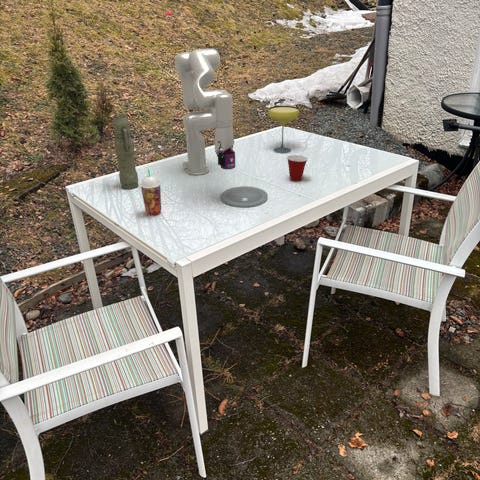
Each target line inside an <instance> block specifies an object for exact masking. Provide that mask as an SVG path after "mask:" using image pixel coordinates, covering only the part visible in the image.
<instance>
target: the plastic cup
mask: <svg viewBox="0 0 480 480" xmlns="http://www.w3.org/2000/svg"><path fill="white" fill-rule="evenodd" d="M286 159H287V164H288V172H289V178H290V181H292V182H300V181H302V179H303V175H304V172H305V167H306V164H307V162H308V159H309V158H308V157H307V156H305V155H302V154H300V155H299V154H291V155H290V154H289V155H287V156H286Z"/></svg>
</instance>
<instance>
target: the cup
mask: <svg viewBox="0 0 480 480" xmlns="http://www.w3.org/2000/svg"><path fill="white" fill-rule="evenodd" d="M220 152H221V154H222V151H220ZM224 157H225V166H221V165H220V168H221V169H222V170H233V169H235V168H236V152H235V151H234V150H233V151H232V150H225V152H224Z"/></svg>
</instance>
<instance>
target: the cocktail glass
mask: <svg viewBox="0 0 480 480" xmlns="http://www.w3.org/2000/svg"><path fill="white" fill-rule="evenodd" d="M299 114H300V109H299V108H298V107H296V106H292V105H276V106H275V105H274V106H271V107H269V108H268V110H267V115H268V117H269V118H270V119H272V120H273V121H275V122H276V123H278V124H280V127H281V128H282V129H281V130H282V131H281V133H282V134H281V145H280V147H275V148H274V149H273V150H272V151H273V152H274V153H276V154H277V153H278V154H287V153H290V152H292V149H291V148H289V147H285V146H284V127H285V126H286V125H287V124H288V123H290V122H292V121H294V120H295V119H297V118H298V117H299Z"/></svg>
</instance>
